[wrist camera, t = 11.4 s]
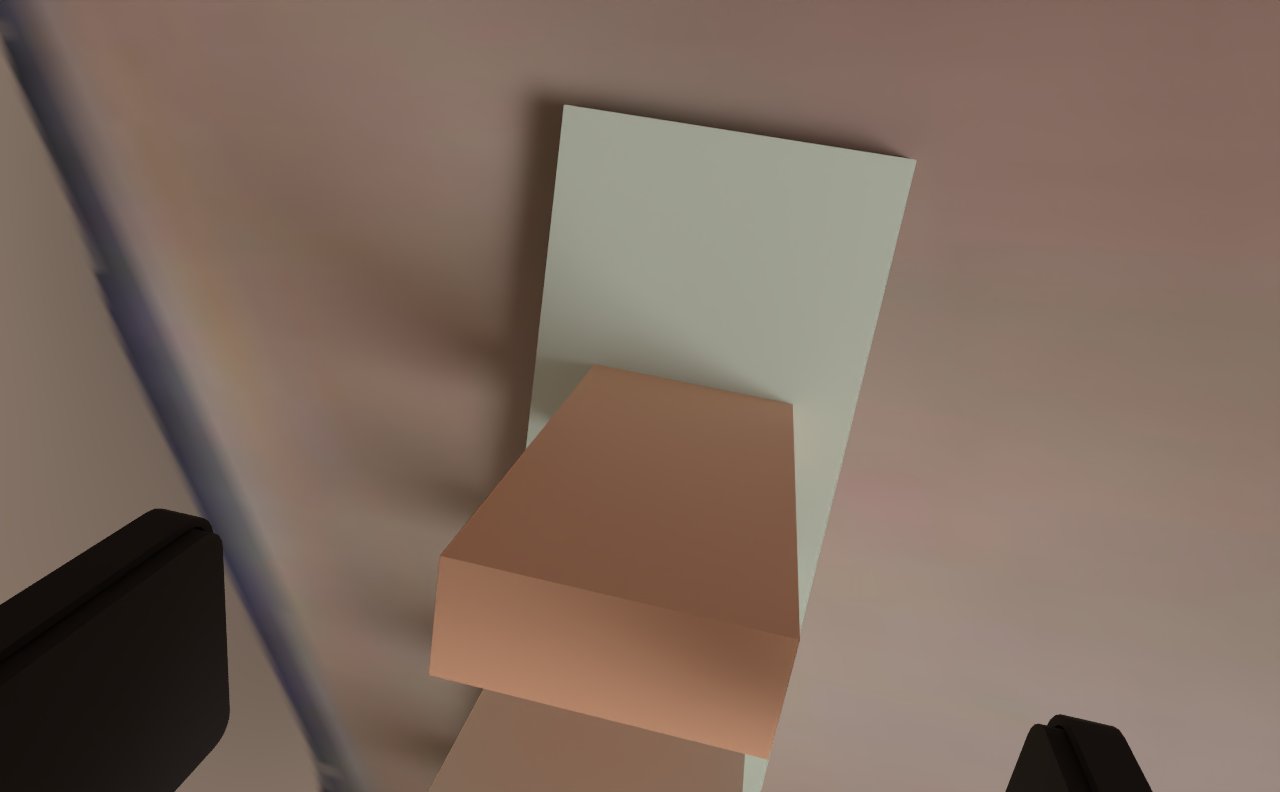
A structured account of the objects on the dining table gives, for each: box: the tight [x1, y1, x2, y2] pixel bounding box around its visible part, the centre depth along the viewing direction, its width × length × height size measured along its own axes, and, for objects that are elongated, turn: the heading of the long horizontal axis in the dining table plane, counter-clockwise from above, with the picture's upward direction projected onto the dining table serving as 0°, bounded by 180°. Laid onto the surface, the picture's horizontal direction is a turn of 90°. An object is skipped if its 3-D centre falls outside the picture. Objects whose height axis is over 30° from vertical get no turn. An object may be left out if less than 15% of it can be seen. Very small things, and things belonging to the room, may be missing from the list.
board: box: [526, 105, 917, 792], centre depth 24 cm, size 27×8×1 cm, turn 171°
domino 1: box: [429, 364, 800, 760], centre depth 16 cm, size 2×5×10 cm, turn 81°
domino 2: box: [428, 689, 745, 792], centre depth 18 cm, size 2×5×10 cm, turn 81°
